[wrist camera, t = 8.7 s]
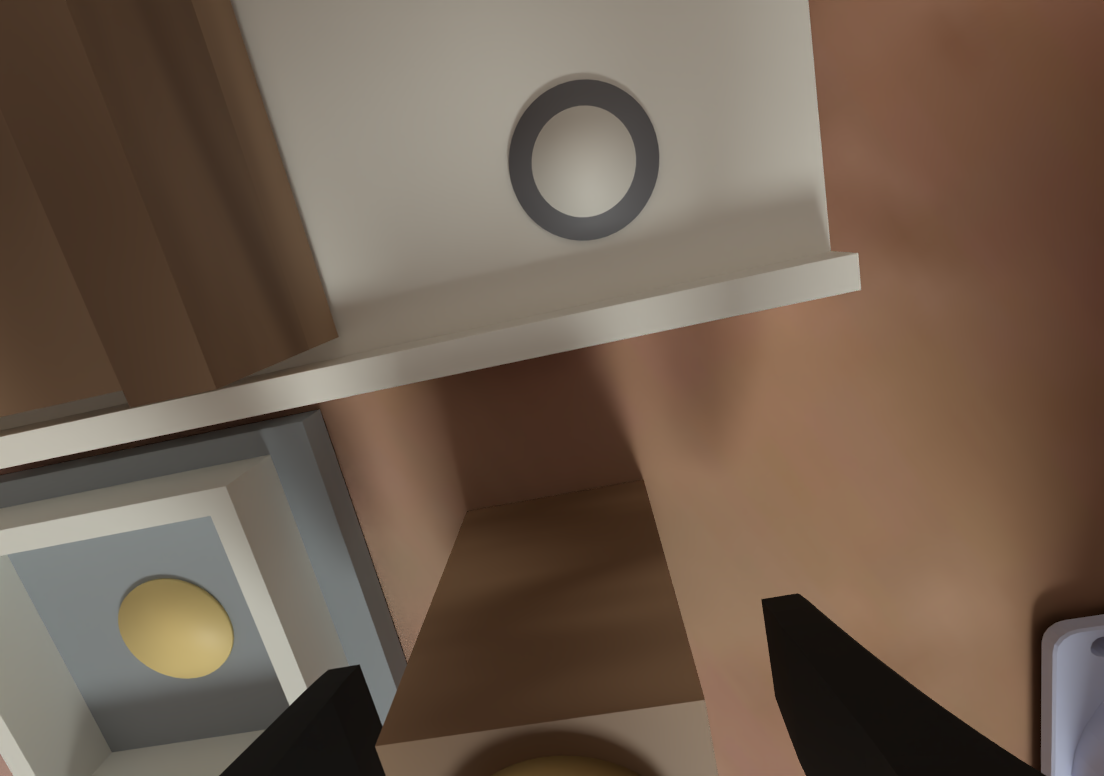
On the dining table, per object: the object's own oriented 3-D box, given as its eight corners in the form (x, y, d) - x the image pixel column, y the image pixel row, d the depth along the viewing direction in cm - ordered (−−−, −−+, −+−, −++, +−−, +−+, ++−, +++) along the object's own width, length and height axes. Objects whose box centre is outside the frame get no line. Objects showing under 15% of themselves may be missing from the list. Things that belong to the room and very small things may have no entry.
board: (741, -470, 8) (816, -787, 6) (815, 281, 11) (887, 295, 8) (-286, -117, 10) (-580, -237, 7) (2, 452, 13) (-140, 507, 10)
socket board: (319, 409, 12) (261, 448, 10) (489, 904, 16) (475, 1014, 14) (-45, 484, 13) (-174, 536, 11) (198, 937, 17) (140, 1045, 14)
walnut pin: (643, 479, 12) (713, 730, 6) (672, 632, 13) (756, 980, 7) (467, 511, 13) (362, 775, 6) (508, 657, 14) (452, 1009, 7)
